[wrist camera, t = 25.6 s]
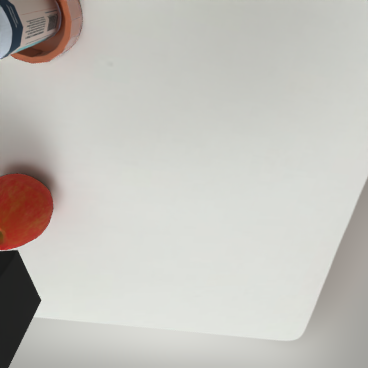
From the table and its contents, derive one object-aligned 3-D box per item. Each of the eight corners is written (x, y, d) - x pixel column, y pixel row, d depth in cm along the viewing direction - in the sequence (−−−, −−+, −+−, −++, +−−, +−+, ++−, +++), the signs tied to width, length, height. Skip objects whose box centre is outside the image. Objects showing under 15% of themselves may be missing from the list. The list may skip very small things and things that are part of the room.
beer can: (39, -26, 32) (-35, -28, 22) (73, 22, 34) (19, 41, 24) (3, 4, 34) (-82, 16, 24) (37, 48, 36) (-27, 77, 26)
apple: (67, 172, 44) (32, 223, 35) (59, 221, 48) (26, 280, 39) (0, 153, 43) (-54, 201, 34) (-2, 206, 47) (-51, 261, 38)
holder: (69, -42, 32) (55, -44, 29) (91, 51, 36) (81, 58, 33) (-15, -30, 33) (-37, -31, 30) (16, 60, 37) (0, 67, 34)
